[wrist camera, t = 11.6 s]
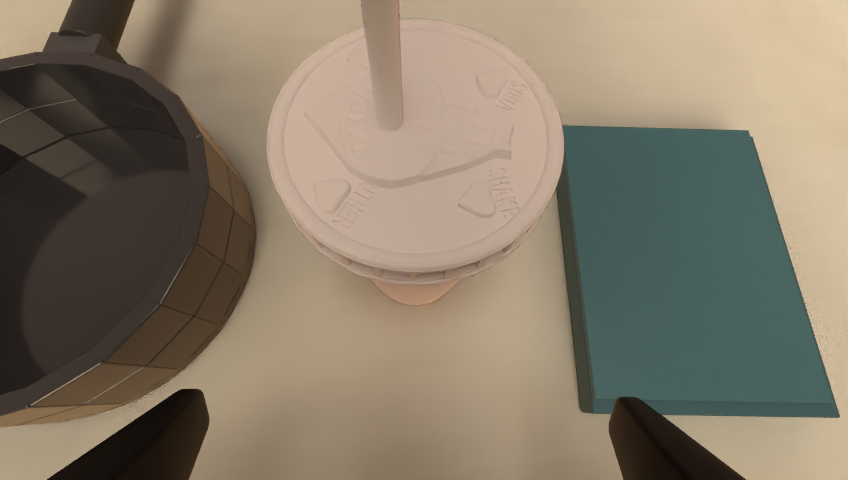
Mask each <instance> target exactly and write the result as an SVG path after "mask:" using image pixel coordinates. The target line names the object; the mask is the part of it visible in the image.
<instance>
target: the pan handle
mask: <svg viewBox="0 0 848 480" xmlns="http://www.w3.org/2000/svg"><path fill="white" fill-rule="evenodd" d="M134 1H135V0H72V2H71V4H70V7H69V9H68V11H67V14H66V16H65V18H64V21H63V23H62V25H61V27H60V30H59V32H52V33H51V34H50V36H49V38H48V40H47V43H46V45H45V47H44V49H43V52H62V53H92V54H96V55H99V56H103V57H106V58H109V59H112V60H116V61H119V62H122V63H125V64H127V62H126V61H125V60H124V59H123V58H122V57H121V56H120V54H119V53H118V52H117V51H116V50H117V47H118V45H119V42H120V39H121V36H122V34H123V31H124V28H125V25H126V23H127V20H128V17H129V14H130V12H131V9H132V6H133V3H134Z"/></svg>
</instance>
